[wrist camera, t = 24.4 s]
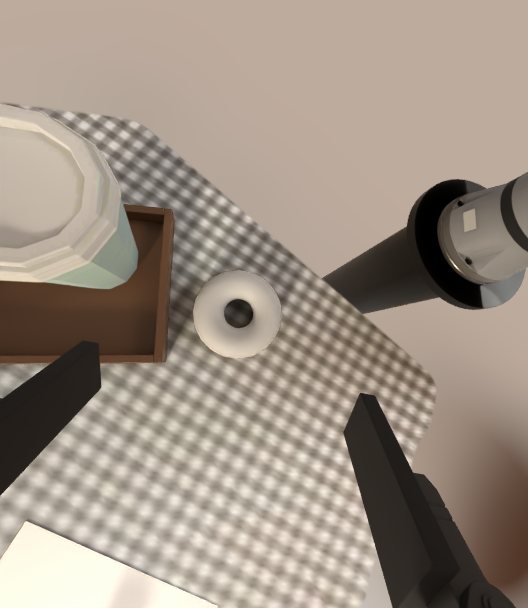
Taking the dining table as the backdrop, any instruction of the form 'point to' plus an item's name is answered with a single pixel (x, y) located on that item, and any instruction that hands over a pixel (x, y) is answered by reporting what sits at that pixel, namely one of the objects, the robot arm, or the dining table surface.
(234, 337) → the donut
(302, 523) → the dining table surface
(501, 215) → the robot arm
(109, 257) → the disposable coffee cup
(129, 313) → the tray
